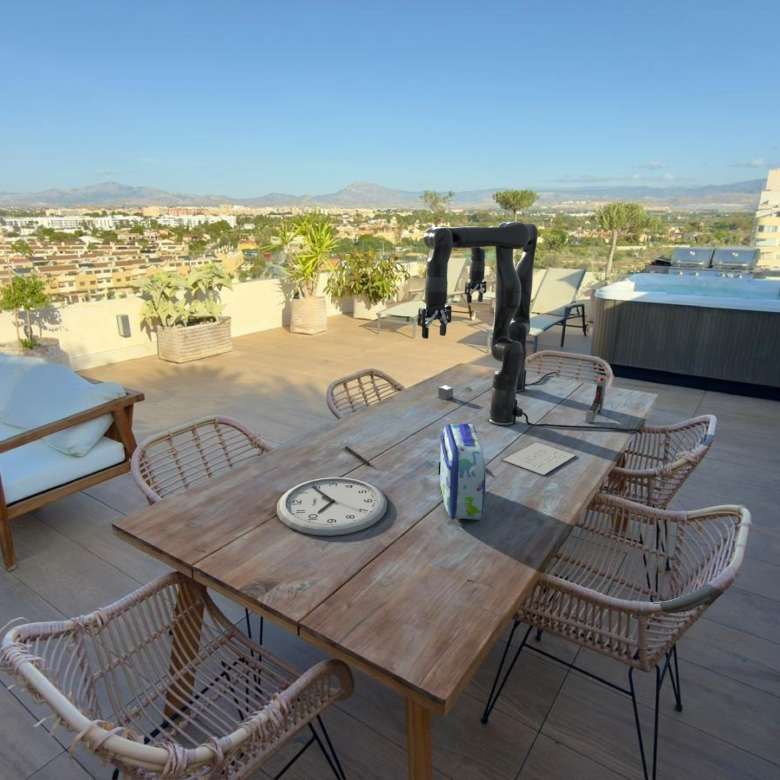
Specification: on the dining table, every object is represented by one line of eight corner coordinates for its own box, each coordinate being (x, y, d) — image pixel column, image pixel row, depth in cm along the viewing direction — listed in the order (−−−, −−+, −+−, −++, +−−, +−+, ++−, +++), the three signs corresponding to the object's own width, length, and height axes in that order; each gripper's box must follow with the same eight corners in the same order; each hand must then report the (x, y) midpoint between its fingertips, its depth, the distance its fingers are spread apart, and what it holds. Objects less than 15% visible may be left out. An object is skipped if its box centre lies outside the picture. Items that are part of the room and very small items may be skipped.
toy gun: (589, 386, 202) (601, 375, 213) (585, 424, 208) (596, 411, 219) (595, 387, 201) (607, 376, 212) (591, 425, 207) (602, 412, 218)
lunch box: (436, 479, 158) (439, 414, 152) (472, 480, 158) (476, 415, 152) (443, 526, 133) (448, 451, 127) (486, 527, 133) (492, 452, 127)
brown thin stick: (344, 448, 179) (344, 445, 179) (346, 448, 179) (346, 445, 179) (367, 464, 167) (367, 462, 167) (368, 464, 167) (368, 461, 167)
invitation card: (535, 442, 186) (575, 454, 176) (535, 442, 187) (575, 455, 176) (502, 459, 172) (543, 474, 162) (502, 460, 172) (543, 475, 162)
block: (438, 397, 235) (438, 387, 234) (444, 395, 238) (445, 385, 236) (446, 400, 232) (446, 389, 230) (452, 398, 235) (453, 387, 233)
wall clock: (392, 527, 129) (268, 531, 127) (391, 533, 130) (269, 537, 127) (383, 473, 158) (282, 475, 155) (383, 478, 158) (282, 480, 156)
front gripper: (429, 292, 168) (427, 341, 173) (458, 289, 177) (456, 336, 182) (413, 289, 174) (411, 337, 179) (442, 287, 183) (440, 332, 188)
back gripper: (473, 271, 253) (471, 304, 258) (492, 269, 263) (489, 302, 267) (462, 269, 259) (459, 302, 264) (480, 268, 268) (477, 300, 273)
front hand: (434, 336), depth 180 cm, fingers open, 8 cm apart
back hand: (474, 302), depth 266 cm, fingers open, 8 cm apart
